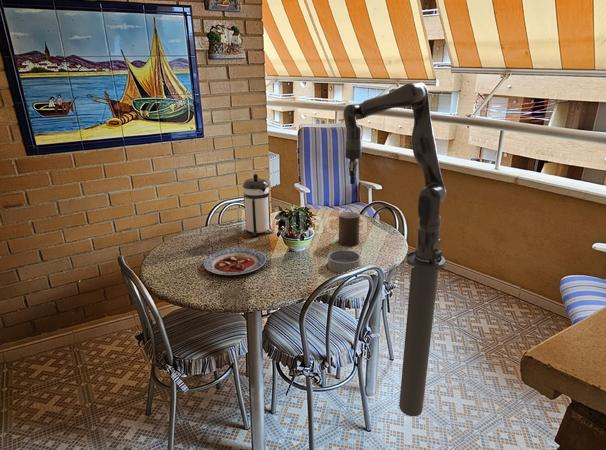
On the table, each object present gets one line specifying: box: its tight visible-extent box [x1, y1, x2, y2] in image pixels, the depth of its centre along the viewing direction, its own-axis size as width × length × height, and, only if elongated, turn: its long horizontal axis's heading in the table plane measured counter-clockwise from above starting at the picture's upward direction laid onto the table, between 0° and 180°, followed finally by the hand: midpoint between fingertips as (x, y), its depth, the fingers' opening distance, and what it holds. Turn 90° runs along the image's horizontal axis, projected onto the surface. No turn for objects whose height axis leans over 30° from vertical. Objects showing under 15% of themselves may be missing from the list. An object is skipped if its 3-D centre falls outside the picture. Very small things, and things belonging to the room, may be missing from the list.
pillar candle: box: [338, 211, 361, 247], centre depth 191 cm, size 10×10×15 cm
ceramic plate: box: [203, 247, 267, 276], centre depth 170 cm, size 26×26×3 cm
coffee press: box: [242, 173, 274, 238], centre depth 203 cm, size 17×16×30 cm
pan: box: [327, 249, 362, 274], centre depth 168 cm, size 13×13×4 cm
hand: (352, 183), depth 198 cm, fingers closed
